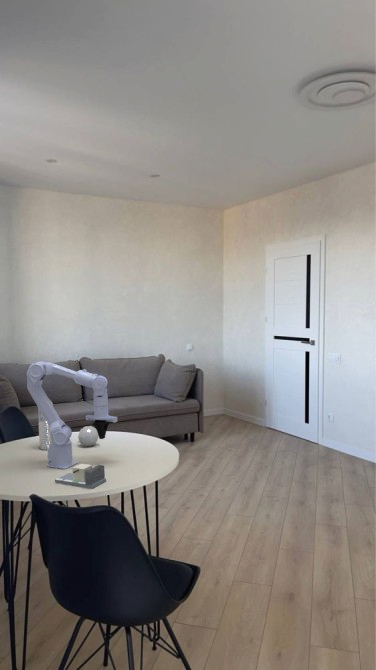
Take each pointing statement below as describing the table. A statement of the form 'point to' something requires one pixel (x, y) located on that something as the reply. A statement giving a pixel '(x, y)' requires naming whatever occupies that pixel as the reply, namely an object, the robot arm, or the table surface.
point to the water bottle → (44, 432)
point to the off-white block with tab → (80, 472)
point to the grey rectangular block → (94, 475)
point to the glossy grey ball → (88, 436)
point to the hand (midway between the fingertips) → (102, 438)
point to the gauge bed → (69, 480)
